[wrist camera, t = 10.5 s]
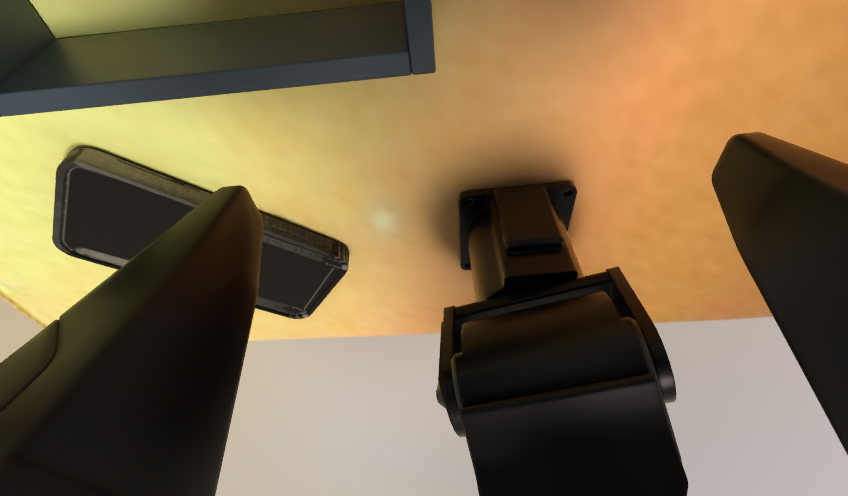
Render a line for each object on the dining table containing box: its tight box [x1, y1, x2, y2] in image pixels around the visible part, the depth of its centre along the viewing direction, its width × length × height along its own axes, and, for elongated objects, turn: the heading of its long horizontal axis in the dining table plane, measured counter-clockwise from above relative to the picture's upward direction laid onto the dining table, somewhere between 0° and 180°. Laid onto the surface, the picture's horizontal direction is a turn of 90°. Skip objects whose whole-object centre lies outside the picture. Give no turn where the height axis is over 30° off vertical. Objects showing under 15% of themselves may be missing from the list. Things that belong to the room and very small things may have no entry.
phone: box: [52, 148, 349, 319], centre depth 25 cm, size 8×1×15 cm
